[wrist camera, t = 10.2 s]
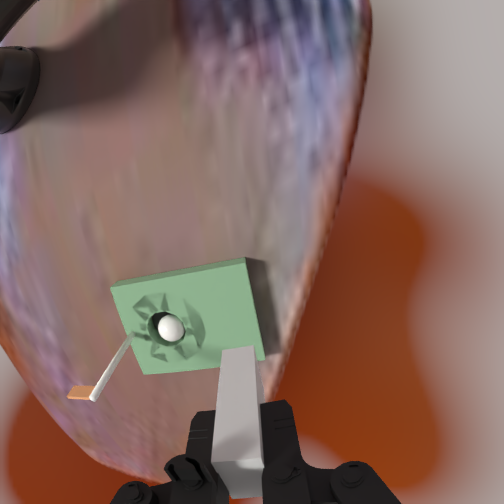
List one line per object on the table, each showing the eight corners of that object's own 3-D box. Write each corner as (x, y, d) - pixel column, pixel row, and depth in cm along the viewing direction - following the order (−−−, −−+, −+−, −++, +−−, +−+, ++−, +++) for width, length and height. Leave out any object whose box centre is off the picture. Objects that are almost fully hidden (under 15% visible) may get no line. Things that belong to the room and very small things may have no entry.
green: (133, 366, 41) (96, 440, 25) (101, 284, 38) (37, 341, 22) (264, 349, 41) (274, 436, 25) (245, 257, 37) (246, 316, 21)
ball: (157, 345, 37) (180, 347, 36) (149, 322, 36) (172, 322, 35) (170, 332, 40) (192, 333, 39) (163, 310, 39) (185, 310, 38)
